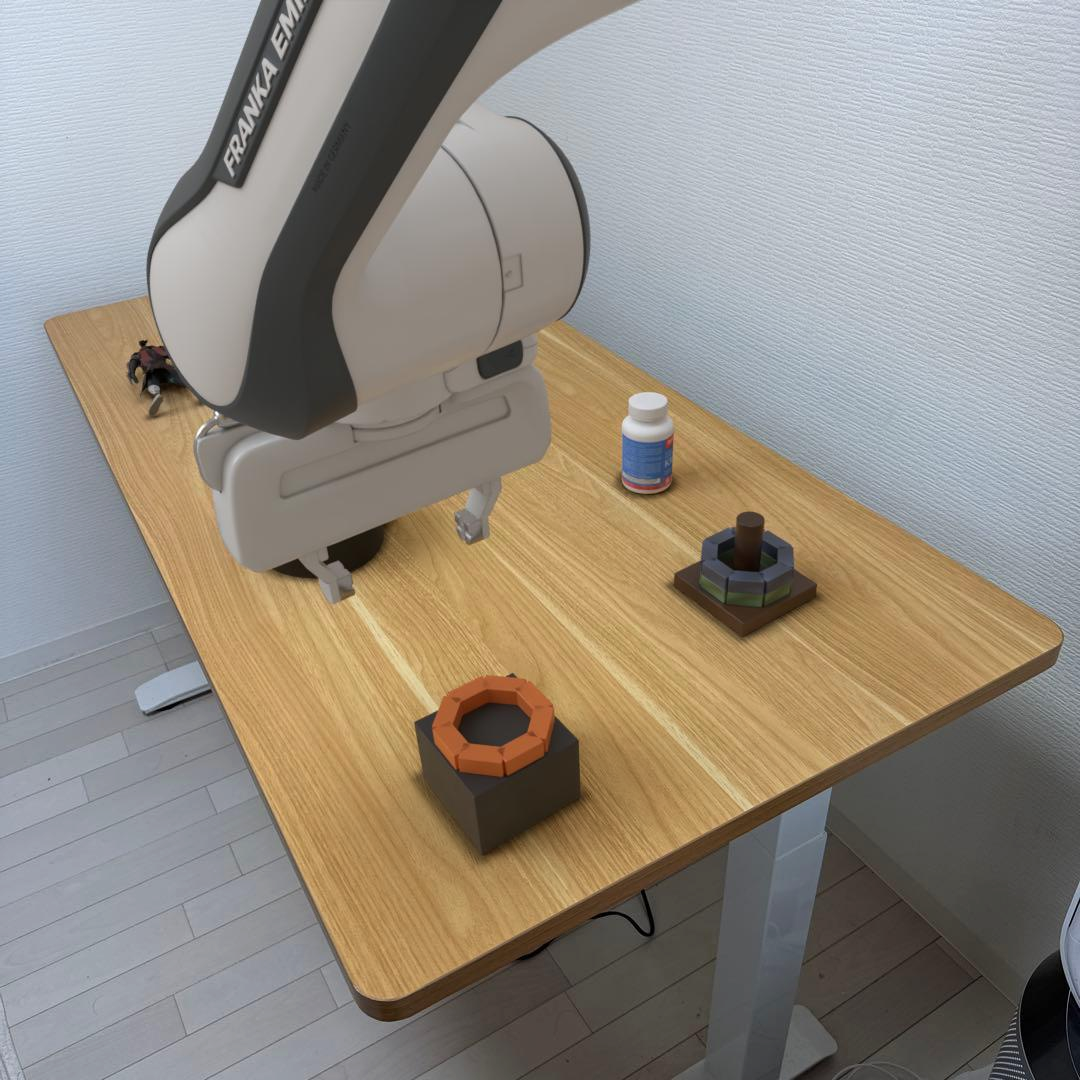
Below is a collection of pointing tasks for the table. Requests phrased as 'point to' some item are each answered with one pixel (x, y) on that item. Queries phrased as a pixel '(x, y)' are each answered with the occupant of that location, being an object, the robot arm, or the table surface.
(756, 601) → the stack post
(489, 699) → the orange ring
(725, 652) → the table surface
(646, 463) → the pill bottle
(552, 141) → the robot arm
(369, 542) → the black cylinder with pointer
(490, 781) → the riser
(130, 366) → the action figure
